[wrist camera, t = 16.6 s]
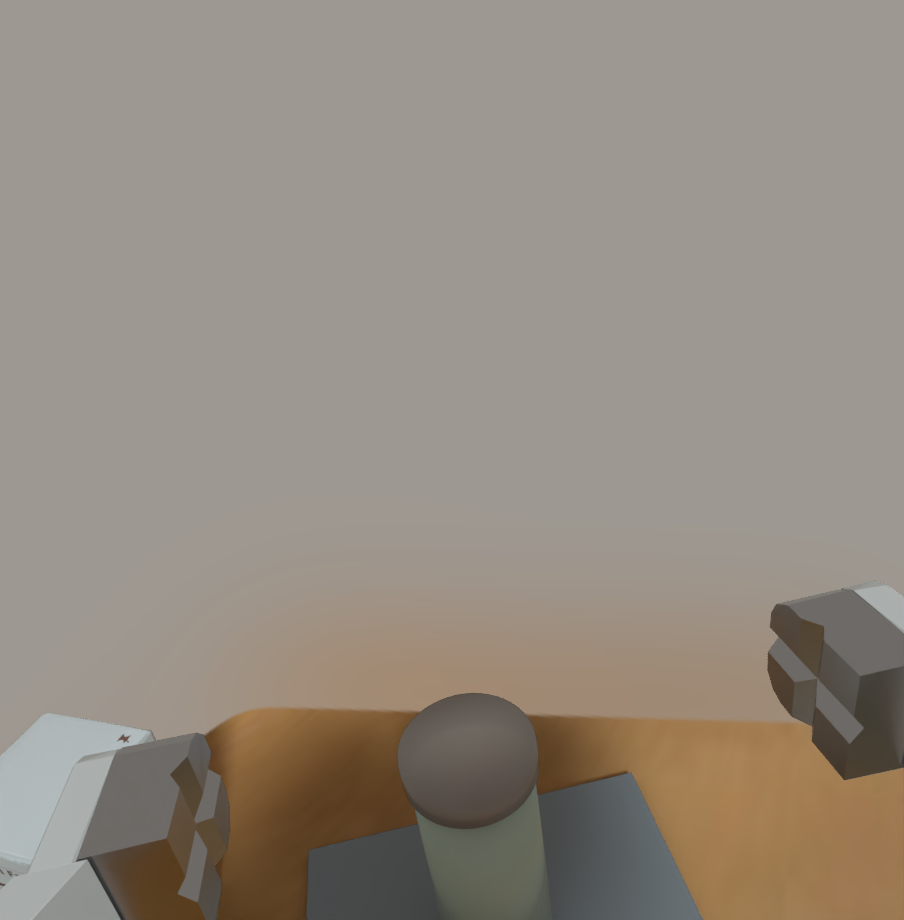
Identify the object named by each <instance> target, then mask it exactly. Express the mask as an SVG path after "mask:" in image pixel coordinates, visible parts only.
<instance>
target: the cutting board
mask: <svg viewBox="0 0 904 920" xmlns="http://www.w3.org/2000/svg"><path fill="white" fill-rule="evenodd" d="M538 803H539V812H540V820H541V828H542V836H543V844H544V852H545V860H546V868H547V876H548V884H549V892H550V900H551V909H552V917H553V920H703V919H702V917H701V915H700V913H699V911H698V909H697V906H696V904H695V902H694V900H693V898H692V896H691V894H690V892H689V890H688V888H687V886H686V884H685V882H684V880H683V878H682V876H681V873H680V871H679V869H678V867H677V865H676V863H675V861H674V859H673V857H672V855H671V853H670V851H669V849H668V847H667V845H666V843H665V841H664V838H663V836H662V834H661V832H660V830H659V828H658V826H657V824H656V822H655V820H654V818H653V816H652V814H651V812H650V810H649V808H648V806H647V803H646V801H645V799H644V797H643V795H642V793H641V791H640V789H639V787H638V785H637V783H636V781H635V779H634V777H633V775H632V773H627V774H623V775H619V776H615V777H611V778H606V779H602V780H598V781H594V782H590V783H586V784H581V785H577V786H573V787H569V788H565V789H561V790H556V791H552V792H548V793H544V794H540V795H538ZM306 920H441V917H440V913H439V909H438V905H437V900H436V896H435V892H434V888H433V884H432V880H431V875H430V871H429V867H428V863H427V859H426V855H425V850H424V846H423V842H422V838H421V834H420V830H419V825H418V824H415V825H411V826H407V827H402V828H398V829H394V830H390V831H386V832H382V833H377V834H373V835H369V836H365V837H361V838H357V839H352V840H348V841H344V842H340V843H336V844H332V845H327V846H323V847H319V848H315V849H311V850H309V858H308V887H307V915H306Z"/></svg>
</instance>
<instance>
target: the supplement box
mask: <svg viewBox="0 0 904 920" xmlns="http://www.w3.org/2000/svg"><path fill="white" fill-rule="evenodd" d="M152 741H156V740H155V737H154V735H153V733H152V731H150V730H143V729H137V728H133V727H128V726H122V725H116V724H110V723H105V722H99V721H93V720H87V719H81V718H76V717H70V716H64V715H59V714H50V713H46V714H44V715H42V717H40V718H39V719H38V720H37V721H36V722H35V723H34V724H33V725H32V726H31V727H30V728H29V729H28V730H27V731H26V732H25V733H24V734H23V735H22V736H21V737H20V738H19V739H18V740H17V741H16V742H14V743H13V744H12V745H11V746H10V747H9V748H8V749H7V750H6V751H5V752H4V753H3V754H2V755H1V756H0V890H1V889H2V888H3V887H4V886H5V885H6V884H7V883H8V882H9V881H10V880H11V879H12V878H13V877H15V876H19V875H22V874H26V873H27V872H28V869H29V867H30V865H31V863H32V860H33V858H34V856H35V853H36V851H37V849H38V846H39V844H40V842H41V840H42V837H43V835H44V833H45V830H46V828H47V826H48V823H49V821H50V819H51V817H52V814H53V812H54V810H55V807H56V805H57V803H58V800H59V798H60V796H61V794H62V791H63V789H64V787H65V784H66V782H67V780H68V777H69V775H70V773H71V771H72V768H73V766H74V765H75V764H76V763H77V762H78V761H79V760H80V759H81V758H82V757H83V756H85V755H91V754H96V753H101V752H106V751H112V750H117V749H121V748H122V747H127V746H132V745H137V744H142V743H147V742H152Z"/></svg>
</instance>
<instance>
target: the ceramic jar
mask: <svg viewBox="0 0 904 920" xmlns="http://www.w3.org/2000/svg"><path fill="white" fill-rule="evenodd" d="M397 762H398V768H399V772H400V776H401V780H402V784H403V788H404V791H405V794H406V796H407V798H408V800H409V802H410V803H411V805H412V806H413V807H414V809H415V813H416V817H417V821H418V825H419V830H420V834H421V838H422V842H423V846H424V850H425V855H426V859H427V863H428V867H429V871H430V875H431V880H432V884H433V888H434V892H435V896H436V900H437V905H438V909H439V913H440V917H441V920H553V917H552V909H551V900H550V892H549V884H548V876H547V868H546V860H545V852H544V844H543V836H542V828H541V820H540V812H539V803H538V795H537V787H536V782H537V778H538V774H539V756H538V748H537V739H536V734H535V730H534V728H533V726H532V723H531V722H530V720H529V719H528V717H527V716H526V715H525V714H524V712H522V710H520V709H519V708H518V707H517V706H515V705H514V704H512V703H511V702H509V701H507V700H505V699H503V698H500V697H497V696H493V695H489V694H482V693H467V694H459V695H454V696H451V697H447V698H444V699H442V700H439V701H437V702H435V703H433V704H432V705H430V706H428V707H427V708H425V709H424V710H422V711H421V712H420V713H419V714H418V715H417V716H416V717H415V718H414V719H413V720H412V721H411V722H410V723H409V724H408V726H407V727H406V729H405V731H404V732H403V735H402V737H401V739H400V742H399V746H398V752H397Z"/></svg>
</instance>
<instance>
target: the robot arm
mask: <svg viewBox="0 0 904 920" xmlns="http://www.w3.org/2000/svg"><path fill="white" fill-rule="evenodd" d="M770 628H771V629H772V630H773V631H774V632H775V633H776V634H777V635H778V636H779V637H778V639H777V640H776V641H775V643H774V644H773V645H772V647H771V648H770V650H769V651H768V673H769V677H770V680H771V683H772V687H773V690H774V692H775V693H776V695H777V697H778V699H779V701H780V702H781V704H782V705H783V706H784V708H785V709H786V710H787V711H788V713H789V714H790V715H791V716H792V717H794V718H796V719H798V720H800V721H802V722H804V723H806V724H808V725H810V726H812V742H813V743H814V744H815V746H816V747H817V748H818V749H819V750H820V752H821V753H822V754H823V755H824V756H825V758H826V759H827V760H828V761H829V762H830V764H831V765H832V766H833V767H834V768H835V770H836V771H837V772H838V773H839V774H840V776H841V777H842V778H843V779H844V780H848V779H853V778H858V777H862V776H867V775H872V774H876V773H881V772H886V771H890V770H895V769H899V768H904V597H903V596H901V595H900V594H899V593H897V592H896V591H895V590H894V589H892V588H891V587H890V586H888V585H887V584H885V583H881V582H878V581H871V582H867V583H863V584H859V585H855V586H851V587H847V588H842V589H841V590H835V591H831V592H826V593H822V594H818V595H814V596H809V597H805V598H800V599H796V600H792V601H787V602H783V603H779V604H776V605H775V607H774V609H773V611H772V613H771V622H770ZM210 757H211V750H210V748H209V746H208V744H207V742H206V739H205V737H204V735H202V734H199V733H193V734H188V735H183V736H178V737H174V738H168V739H163V740H158V741H152V742H147V743H142V744H137V745H132V746H127V747H122V748H121V749H117V750H112V751H106V752H101V753H96V754H91V755H85V756H83V757H82V758H81V759H80V760H79V761H78V762H77V763H76V764H75V765H74V766H73V768H72V771H71V773H70V775H69V777H68V780H67V782H66V784H65V787H64V789H63V791H62V794H61V796H60V798H59V800H58V803H57V805H56V807H55V810H54V812H53V814H52V817H51V819H50V821H49V823H48V826H47V828H46V830H45V833H44V835H43V837H42V840H41V842H40V844H39V846H38V849H37V851H36V853H35V856H34V858H33V860H32V863H31V865H30V867H29V869H28V872H27V873H26V874H22V875H19V876H15V877H13V878H12V879H11V880H10V881H9V882H8V883H7V884H6V885H5V886H4V887H3V888H2V889H1V890H0V920H216V918H217V912H218V906H219V900H220V893H221V887H222V882H221V880H220V878H219V875H218V873H217V871H216V868H215V866H216V865H217V863H218V862H219V861H220V859H221V858H222V857H223V855H224V854H225V853H226V851H227V848H228V841H229V833H230V810H229V802H228V797H227V792H226V788H225V786H224V783H223V780H222V778H221V776H220V775H218V774H216V773H215V772H213V771H211V770H209V769H208V767H209V762H210Z"/></svg>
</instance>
